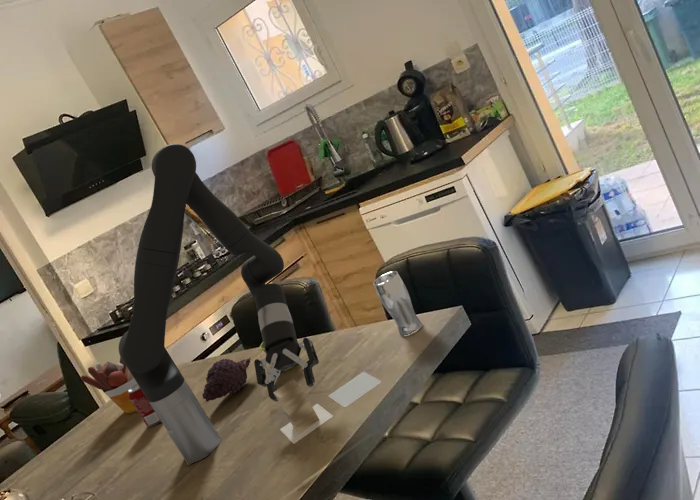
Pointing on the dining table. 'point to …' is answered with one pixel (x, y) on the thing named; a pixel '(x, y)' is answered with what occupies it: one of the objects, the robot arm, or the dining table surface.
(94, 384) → the bucket of meat
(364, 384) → the rest pad
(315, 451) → the dining table surface
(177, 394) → the robot arm
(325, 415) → the tile
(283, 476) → the dining table surface
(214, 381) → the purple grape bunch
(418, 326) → the beer glass
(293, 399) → the beech block
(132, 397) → the soda can
